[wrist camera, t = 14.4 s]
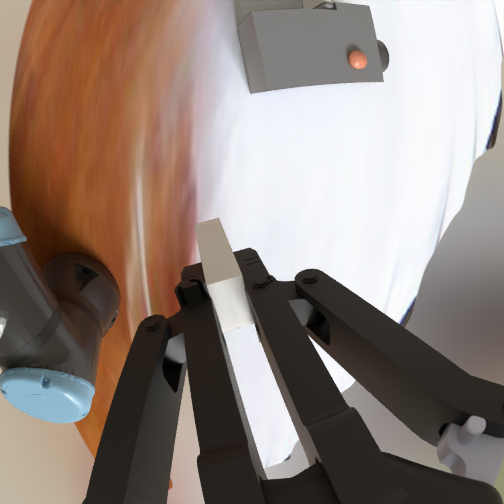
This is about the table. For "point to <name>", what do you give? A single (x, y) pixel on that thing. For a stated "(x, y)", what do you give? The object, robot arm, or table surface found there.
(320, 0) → the side door
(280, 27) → the housing
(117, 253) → the table surface
